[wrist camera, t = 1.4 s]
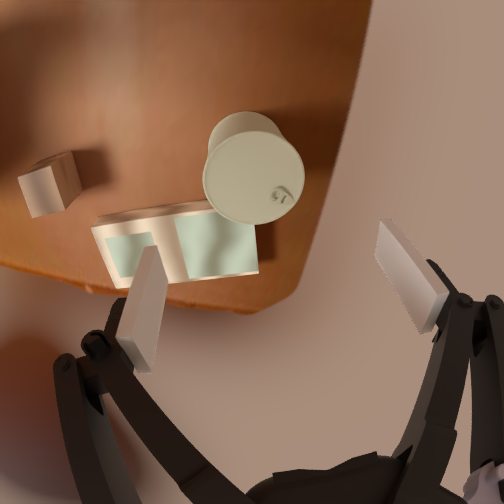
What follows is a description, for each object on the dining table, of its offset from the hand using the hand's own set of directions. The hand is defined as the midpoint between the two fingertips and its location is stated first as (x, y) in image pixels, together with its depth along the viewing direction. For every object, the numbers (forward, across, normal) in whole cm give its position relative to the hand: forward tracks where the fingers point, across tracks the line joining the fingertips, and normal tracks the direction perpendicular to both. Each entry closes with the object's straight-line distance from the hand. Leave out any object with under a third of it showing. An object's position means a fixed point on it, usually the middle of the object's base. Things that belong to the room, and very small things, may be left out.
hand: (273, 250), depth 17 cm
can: (+22, 0, 0) cm, 23 cm away
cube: (+22, -26, +1) cm, 34 cm away
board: (+22, -11, -12) cm, 28 cm away
